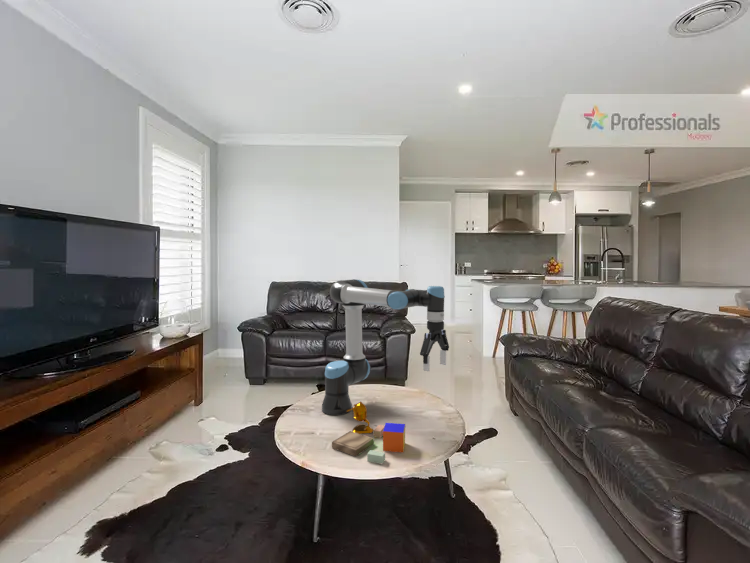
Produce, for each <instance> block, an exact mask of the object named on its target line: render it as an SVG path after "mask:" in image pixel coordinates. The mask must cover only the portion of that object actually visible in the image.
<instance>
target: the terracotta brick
mask: <svg viewBox="0 0 750 563" xmlns="http://www.w3.org/2000/svg"><path fill="white" fill-rule="evenodd" d="M384 427H385V425H383V424H378V425H377V426H376V427H375V428H373V430H374V431H373V438H378V439H379V438H382V437H383V430H384Z"/></svg>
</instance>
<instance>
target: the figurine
mask: <svg viewBox="0 0 750 563" xmlns="http://www.w3.org/2000/svg"><path fill="white" fill-rule="evenodd" d="M353 406H354V407H353ZM353 406H352V409H350V410H351V411H352V413H353V416H352V418H353V419H354V420H355V421H357V422H364V423H366V424H364V423H363V424H362V423H358V424H357V425H355V426H354V427H353V428H352V430H351V431H352V432H355V433H358V434H362V435H367V434H373V433H374V428H372V427H371V426H370V424H371V423H370V421H369V419H367V418H368V411H367V410H368V409H367V406H366V405H365V404H364V403H363V402H362V401H359V402H358V403H357V402H356V403H354V405H353ZM350 410H347V412H348V411H350ZM351 411H350V412H351Z"/></svg>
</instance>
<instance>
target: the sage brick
mask: <svg viewBox="0 0 750 563" xmlns="http://www.w3.org/2000/svg"><path fill="white" fill-rule="evenodd" d="M366 455H367V458H366V459H367V462H371V463H375V462H376V463H375V464H380V463H383V464H384V462H385V461H386V453H385V451H377V450H373V449H371V450H369V451H368V452H367V454H366ZM384 460H385V461H384Z"/></svg>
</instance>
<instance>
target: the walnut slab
mask: <svg viewBox="0 0 750 563" xmlns="http://www.w3.org/2000/svg"><path fill="white" fill-rule="evenodd" d="M374 439H375V437H371V436H368V435H366V434H358V433H355V432H352V430H350V431H348V432H346V433H345V434H343V435H341V436H339V437H338V438H336V439H335V440H333V441H331V448H332V449H334V450H336V451H339V452H342V453H345V454H347V455H350V456H353V457H357V456H359V455H360V454H362V453H363V452H366V450H367V449H369V448H371V447H372V446H374V445H375V444H374V442H375V440H374Z"/></svg>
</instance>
